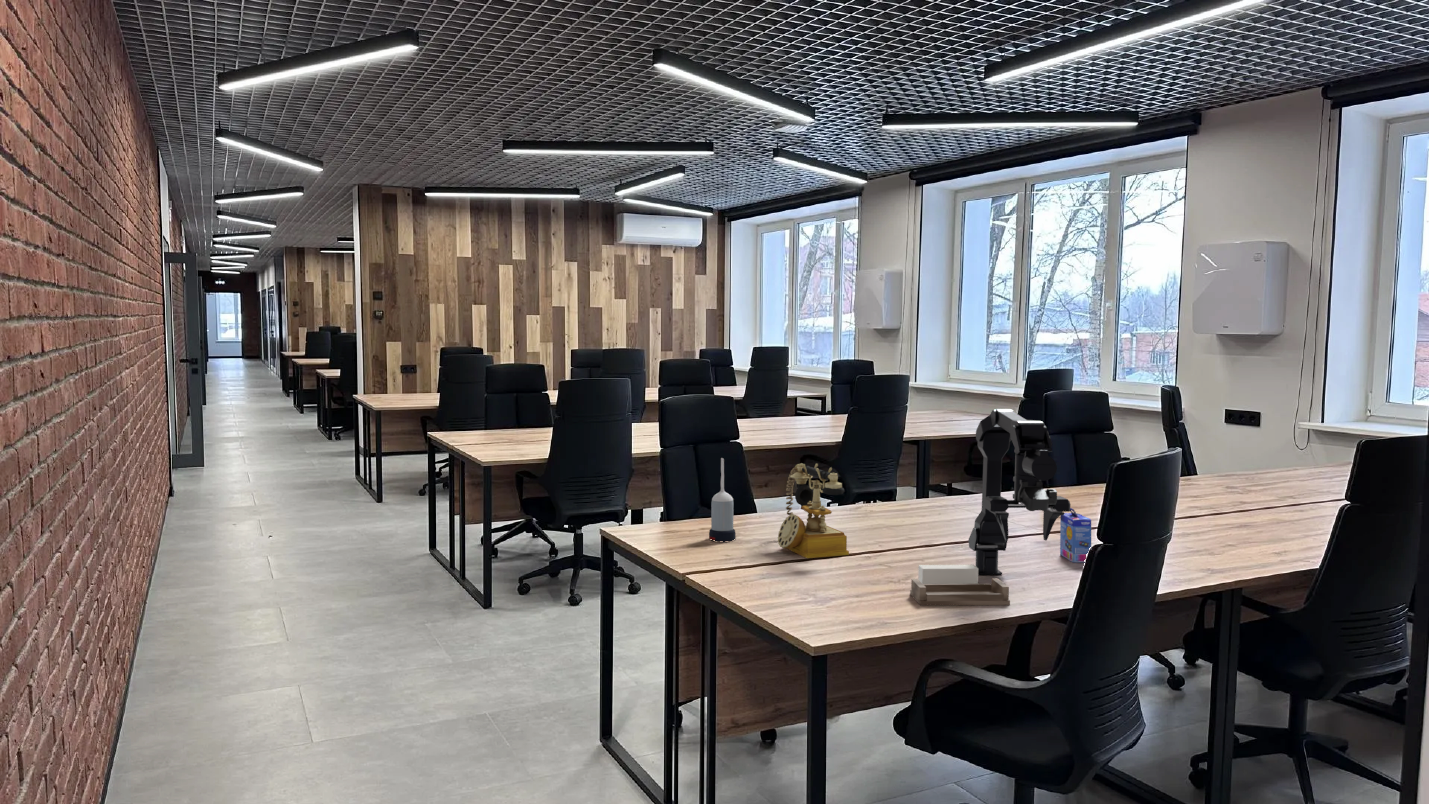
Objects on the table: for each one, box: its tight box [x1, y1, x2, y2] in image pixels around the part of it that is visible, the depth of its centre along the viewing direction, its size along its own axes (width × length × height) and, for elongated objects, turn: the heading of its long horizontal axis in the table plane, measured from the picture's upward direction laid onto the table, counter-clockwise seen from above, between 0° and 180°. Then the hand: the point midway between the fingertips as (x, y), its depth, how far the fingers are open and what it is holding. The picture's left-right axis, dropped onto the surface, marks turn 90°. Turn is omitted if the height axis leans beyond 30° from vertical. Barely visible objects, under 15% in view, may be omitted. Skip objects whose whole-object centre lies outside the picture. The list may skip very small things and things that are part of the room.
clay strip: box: [917, 564, 979, 584], centre depth 243 cm, size 4×14×5 cm, turn 92°
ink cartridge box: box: [1059, 507, 1092, 564], centre depth 272 cm, size 10×6×14 cm, turn 2°
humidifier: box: [708, 457, 737, 543], centre depth 296 cm, size 8×8×25 cm
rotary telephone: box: [777, 462, 850, 559], centre depth 284 cm, size 35×18×25 cm, turn 21°
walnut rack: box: [909, 577, 1011, 606], centre depth 230 cm, size 10×21×4 cm, turn 92°
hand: (1025, 540), depth 227 cm, fingers open, 9 cm apart
